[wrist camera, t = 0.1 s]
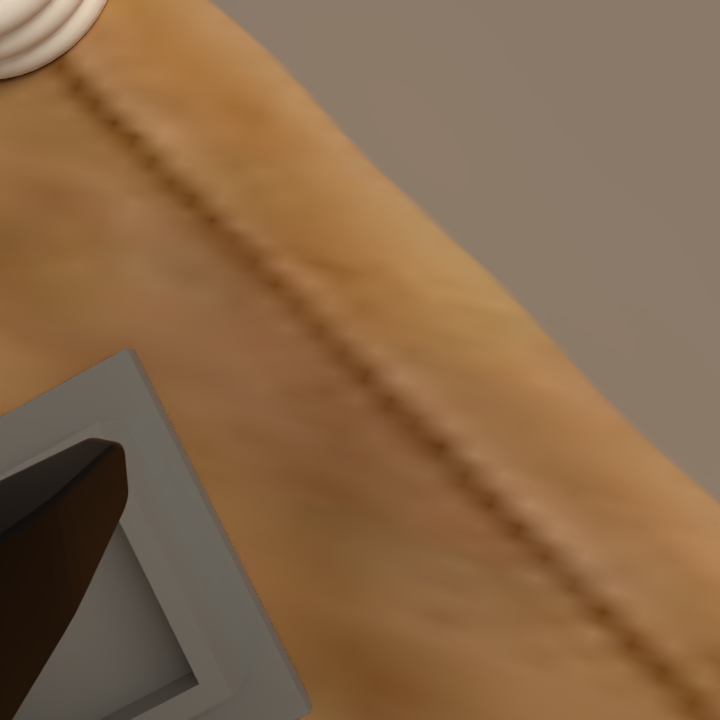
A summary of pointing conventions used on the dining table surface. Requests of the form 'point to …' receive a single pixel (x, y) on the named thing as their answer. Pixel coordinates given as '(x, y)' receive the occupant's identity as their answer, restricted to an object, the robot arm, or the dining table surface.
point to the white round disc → (41, 31)
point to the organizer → (151, 576)
